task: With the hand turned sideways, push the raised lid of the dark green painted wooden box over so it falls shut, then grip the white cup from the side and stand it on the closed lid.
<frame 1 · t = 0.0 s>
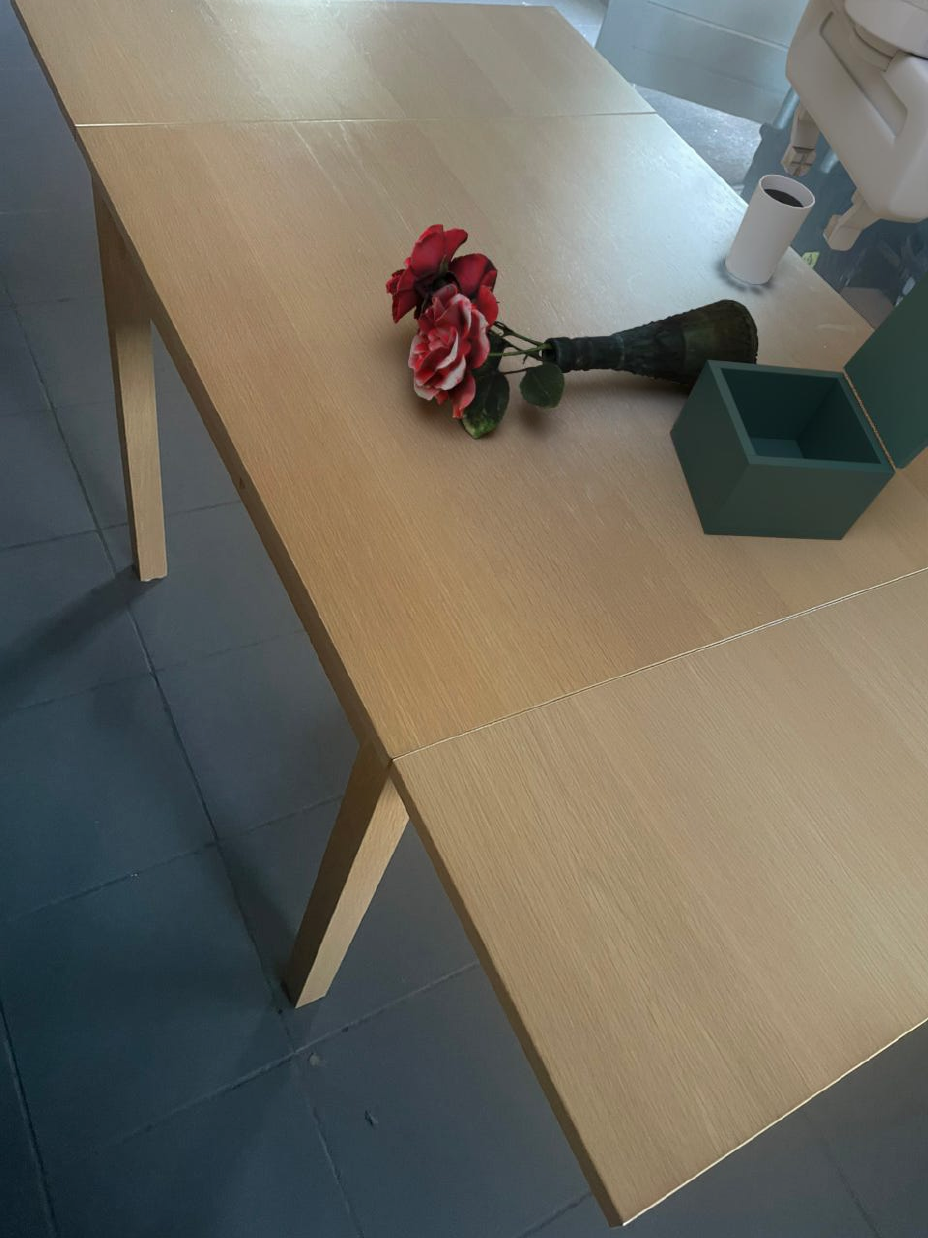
hand: (812, 206, 68), 26 cm above the table, tool pointing down, fingers open, 8 cm apart
chest: (753, 485, 88), on the table
vase with roses: (554, 381, 91), on the table
white cup: (746, 270, 111), on the table
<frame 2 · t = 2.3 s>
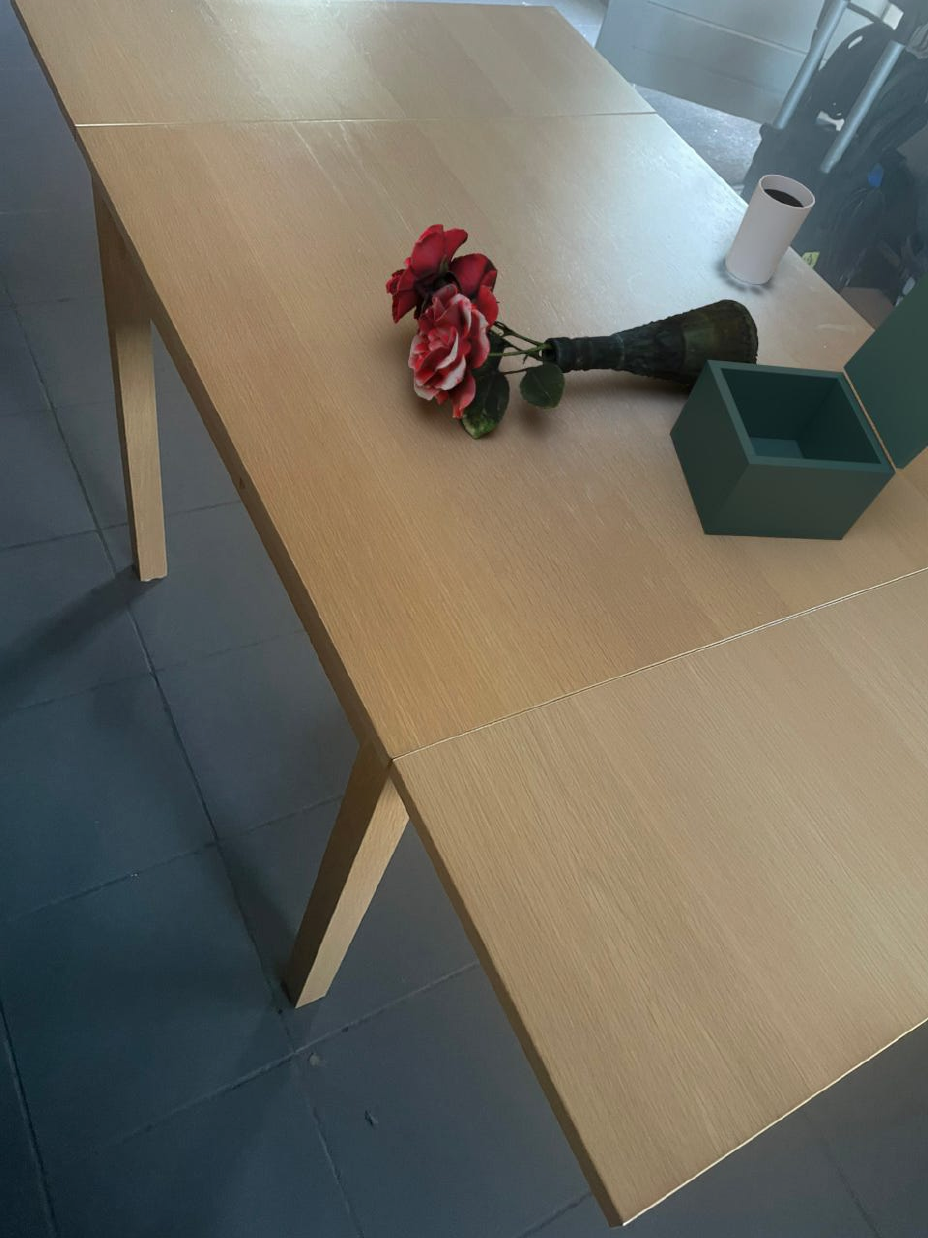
nothing on the table moved.
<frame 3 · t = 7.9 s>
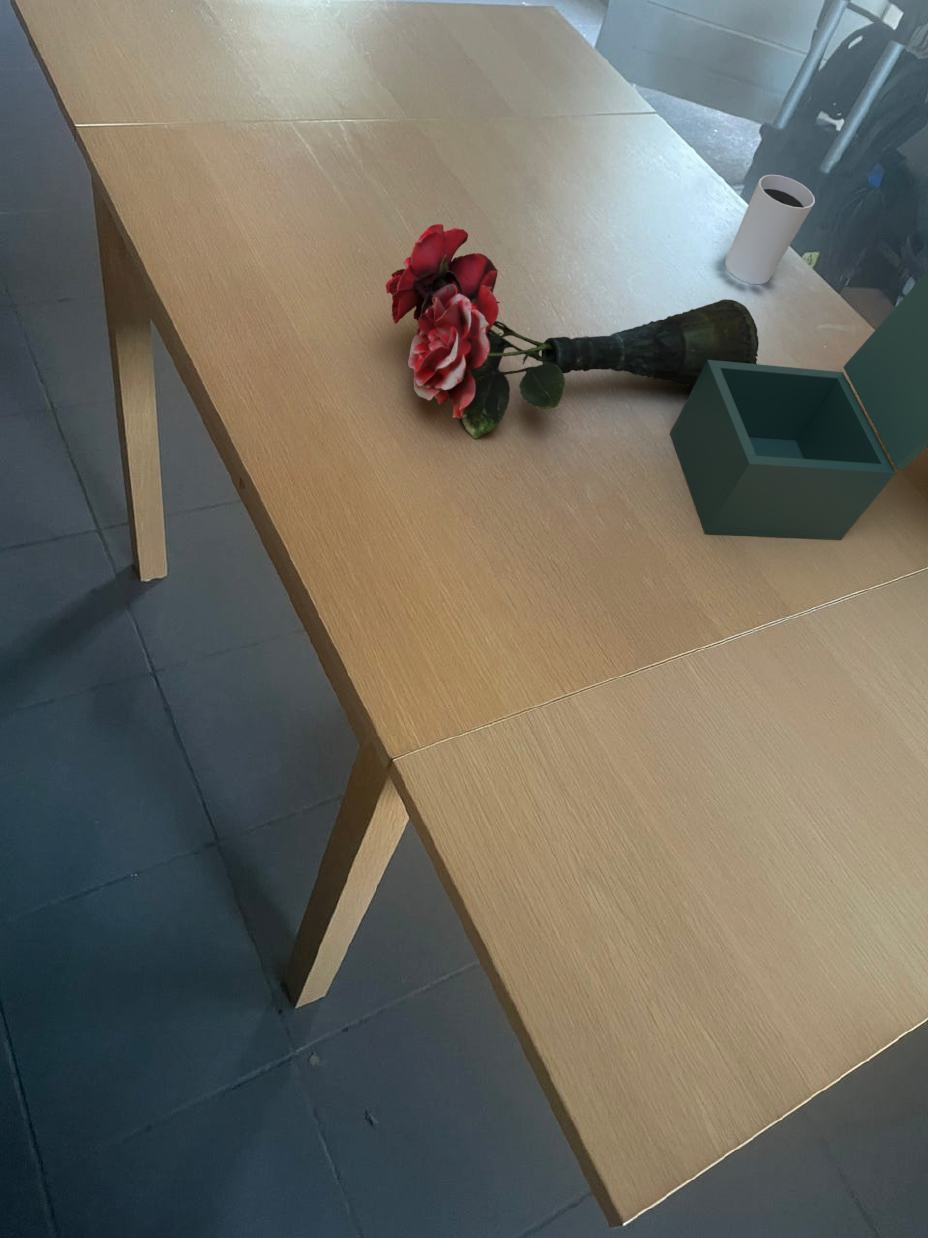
everything else where it was.
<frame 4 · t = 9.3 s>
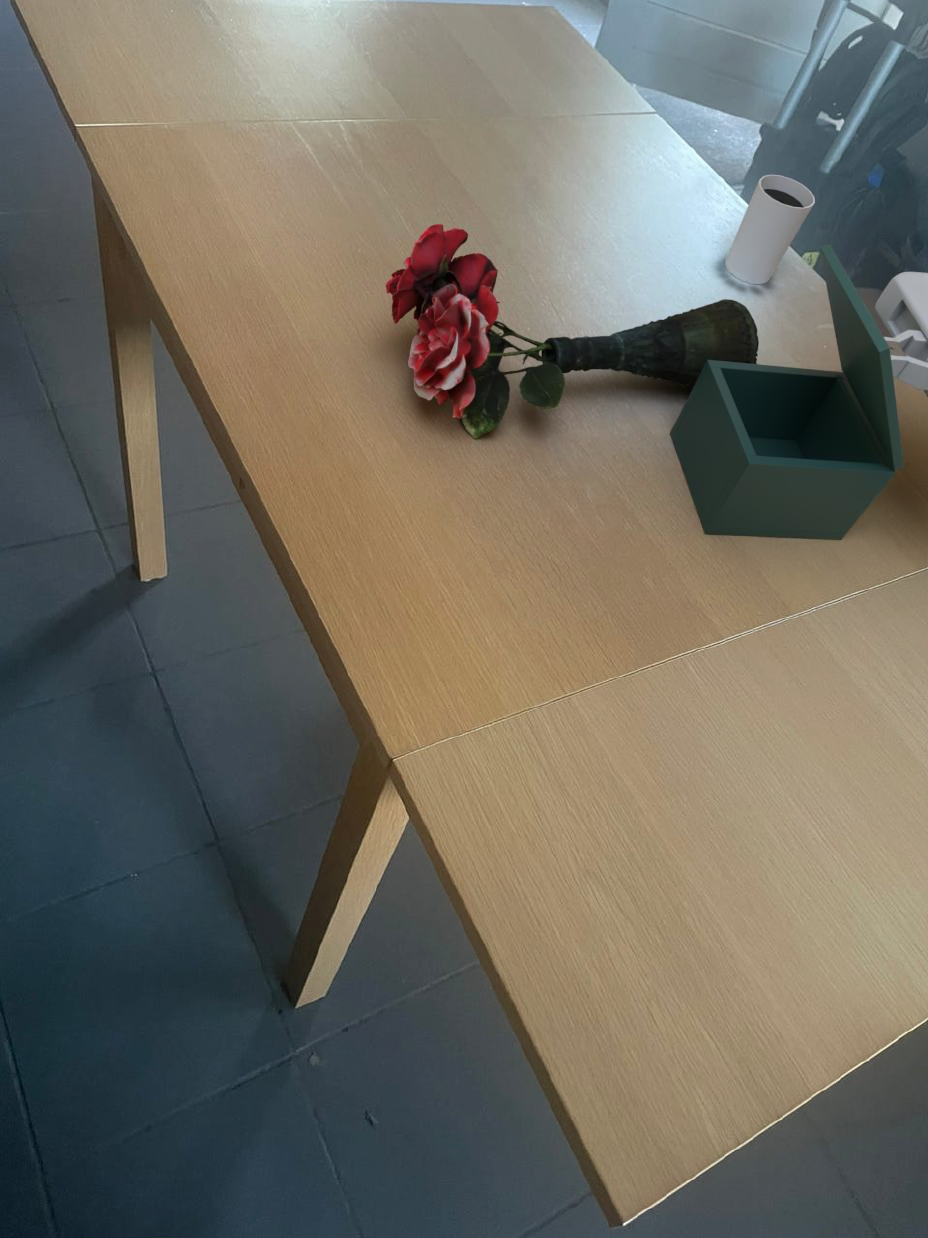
hand: (877, 355, 76), 16 cm above the table, tool horizontal, fingers closed
lid: (862, 359, 76), point 15 cm above the table, hinge at 52.1°
everything else where it was.
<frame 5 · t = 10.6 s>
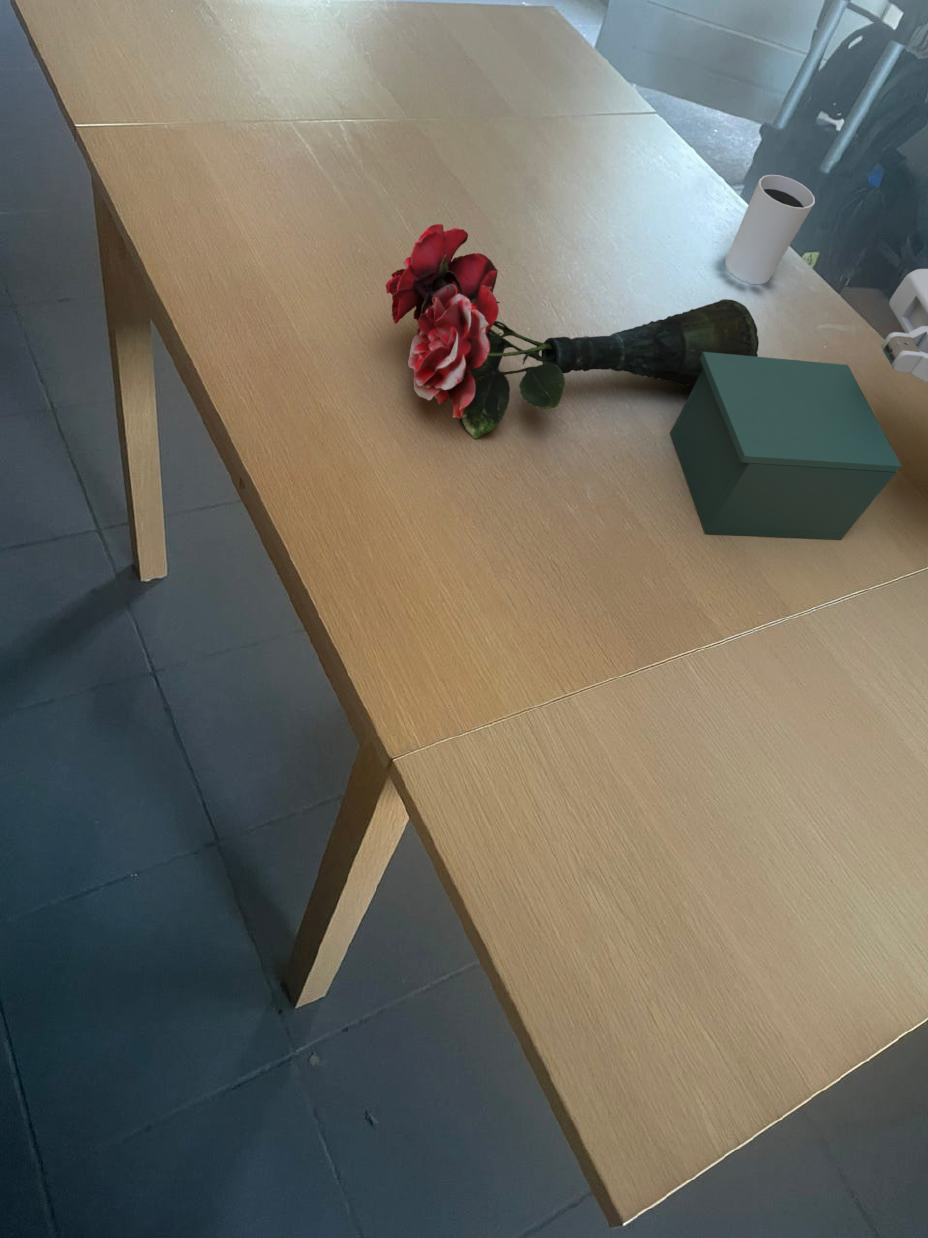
hand: (890, 351, 77), 16 cm above the table, tool horizontal, fingers closed
lid: (797, 410, 80), point 9 cm above the table, hinge at -0.2°
everything else where it was.
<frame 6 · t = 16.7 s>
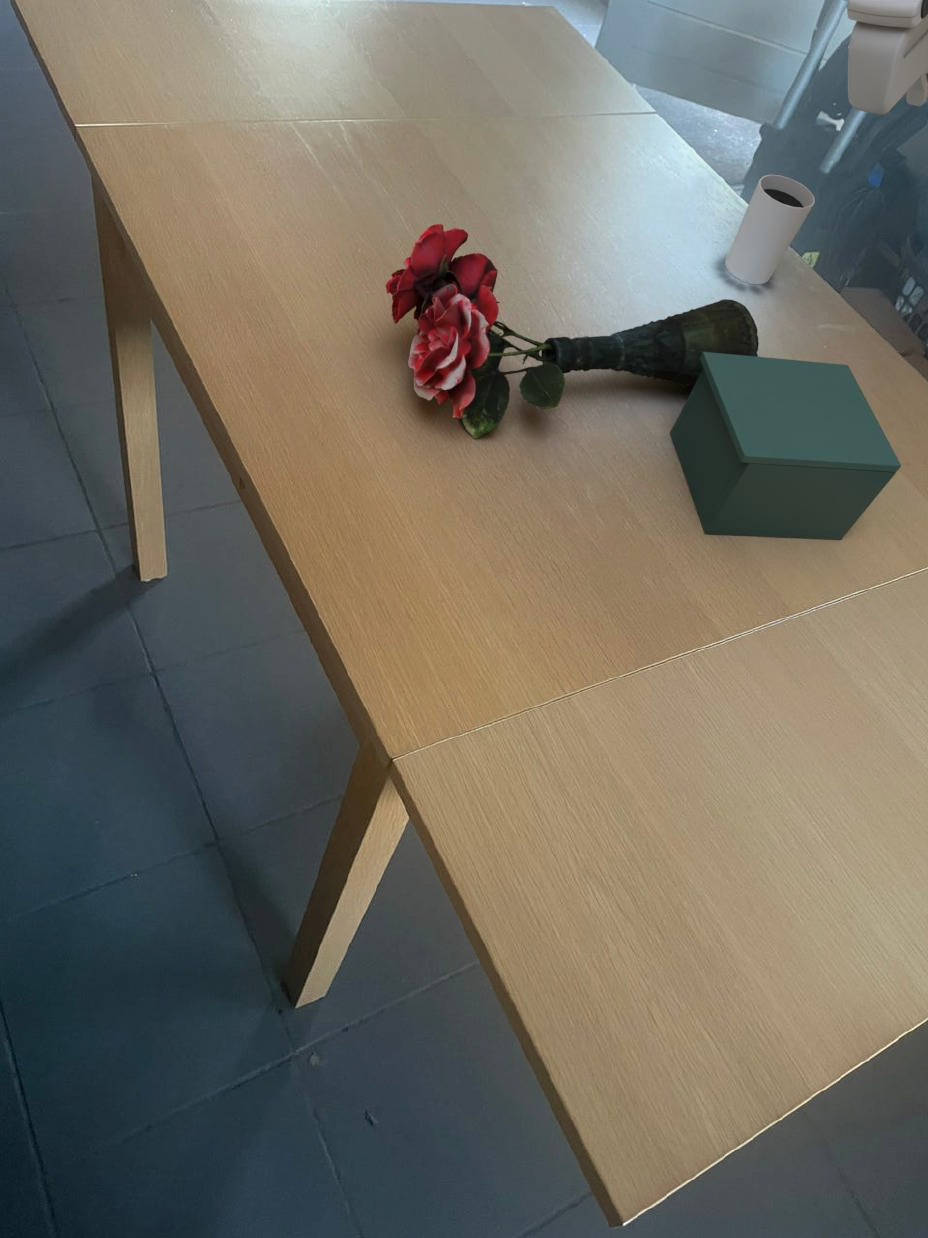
hand: (922, 96, 91), 24 cm above the table, tool tilted 30°, fingers closed
nothing on the table moved.
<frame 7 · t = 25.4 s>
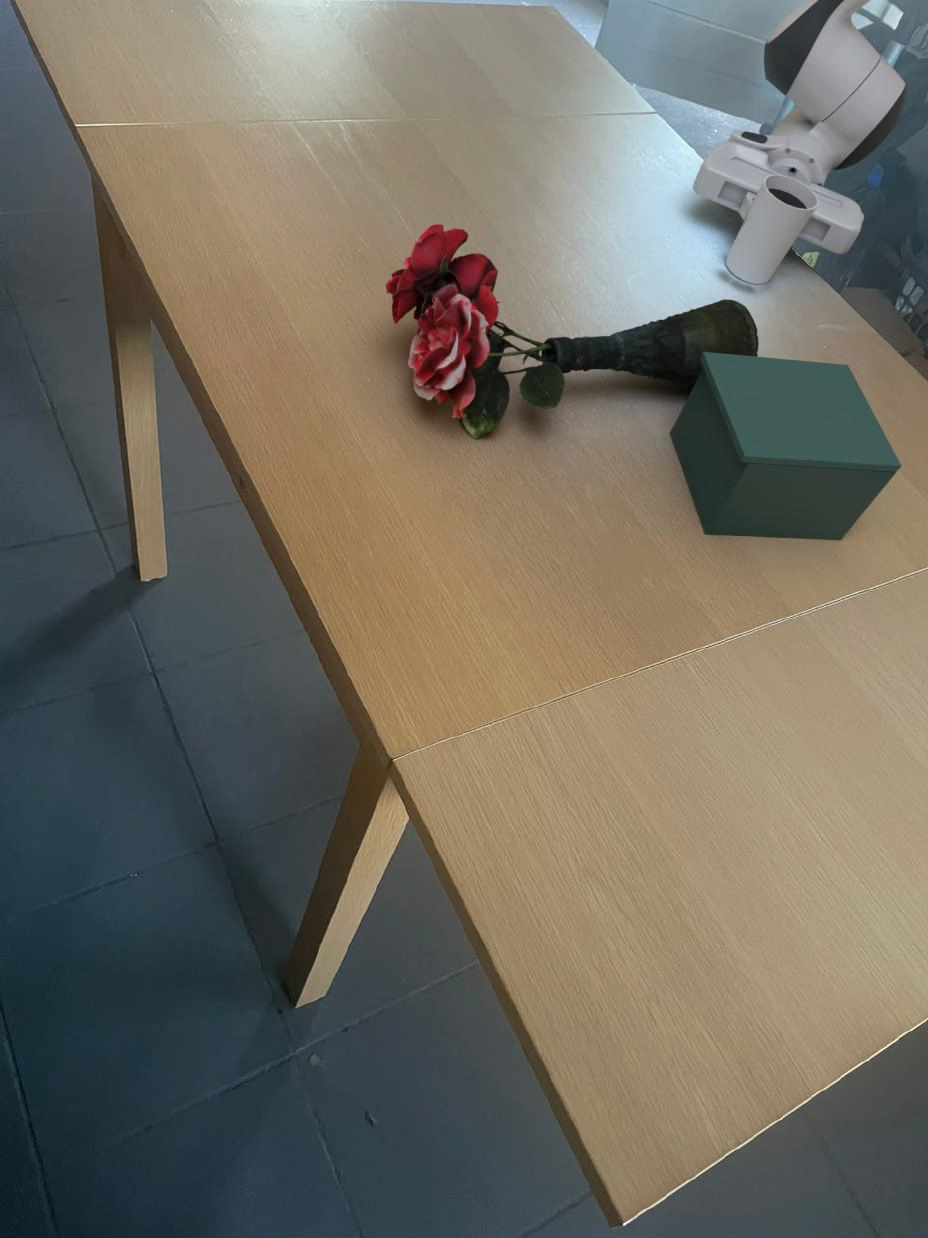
hand: (765, 229, 106), 6 cm above the table, tool horizontal, fingers closed on white cup, 2 cm apart
white cup: (747, 270, 111), on the table, touching gripper
everything else where it was.
when the fingers open (15 cm above the table, at t = 35.6 s): white cup stays where it is, resting on lid.
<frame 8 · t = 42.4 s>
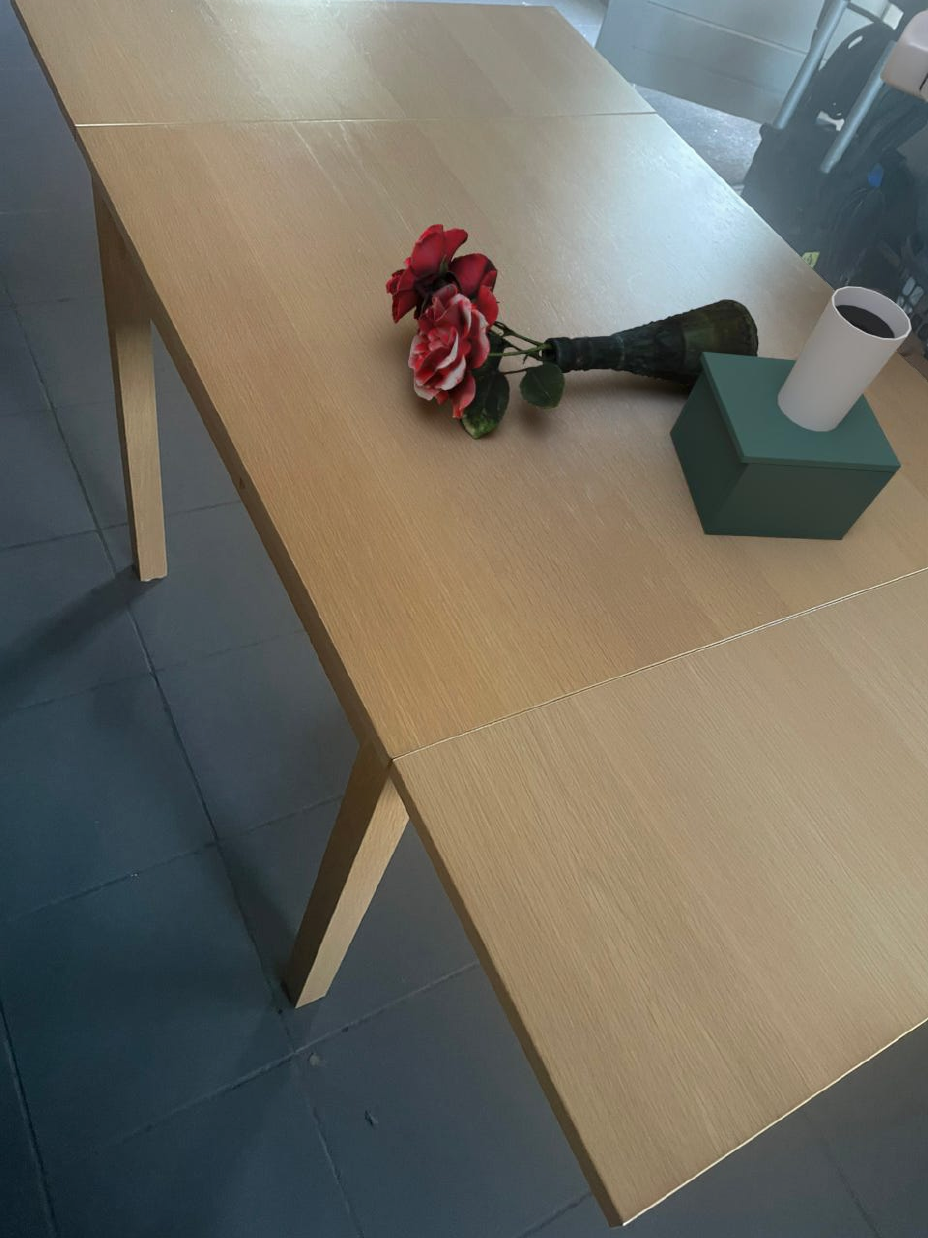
lid: (797, 410, 80), point 9 cm above the table, hinge at -0.2°, touching chest, white cup
white cup: (807, 410, 80), point 10 cm above the table, touching lid
everything else where it was.
at the end: lid at +0° (first picture: +100°); white cup inside the target area on the chest (0.4 cm from its centre), point 9.6 cm above the chest's base; white cup tilted 0° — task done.
